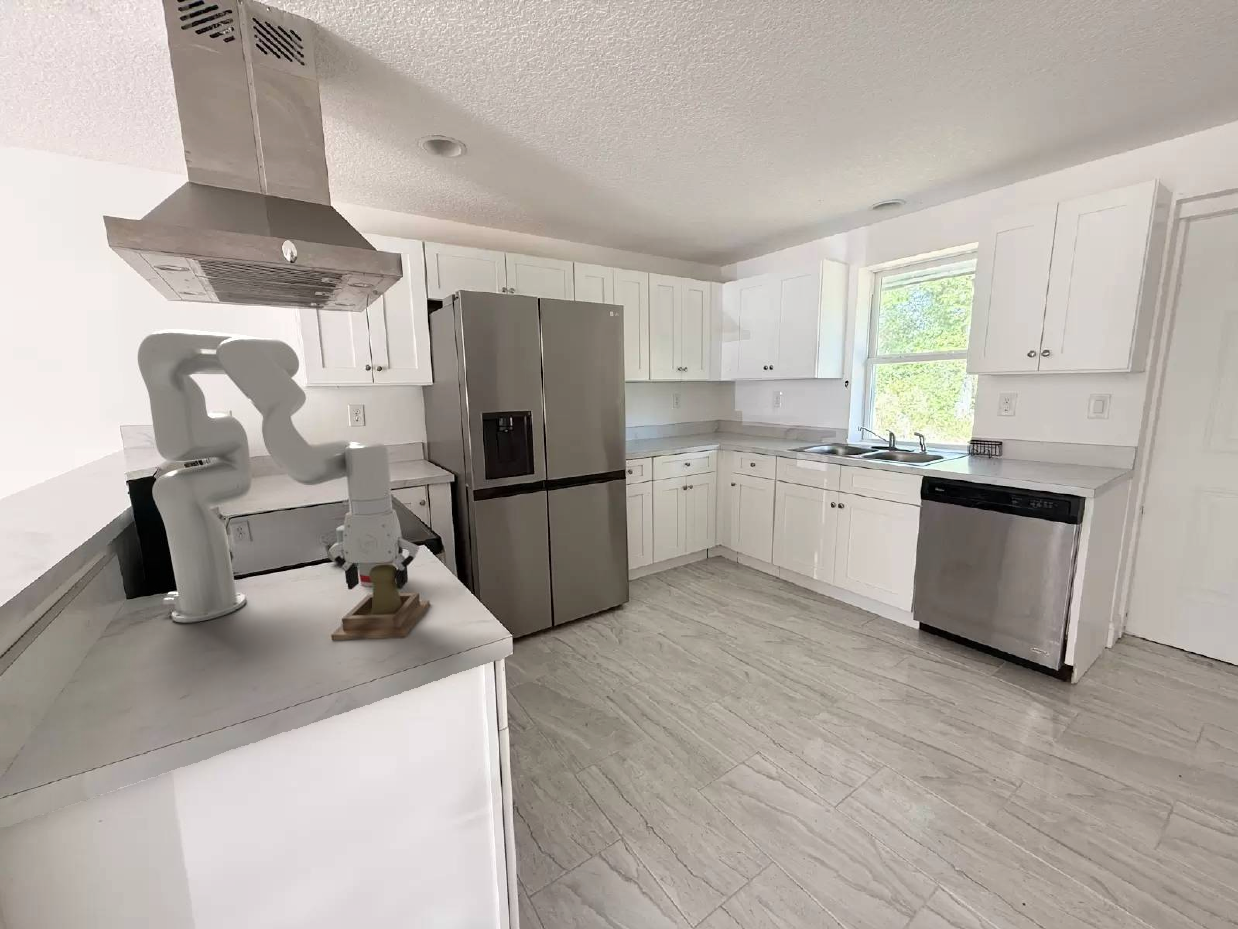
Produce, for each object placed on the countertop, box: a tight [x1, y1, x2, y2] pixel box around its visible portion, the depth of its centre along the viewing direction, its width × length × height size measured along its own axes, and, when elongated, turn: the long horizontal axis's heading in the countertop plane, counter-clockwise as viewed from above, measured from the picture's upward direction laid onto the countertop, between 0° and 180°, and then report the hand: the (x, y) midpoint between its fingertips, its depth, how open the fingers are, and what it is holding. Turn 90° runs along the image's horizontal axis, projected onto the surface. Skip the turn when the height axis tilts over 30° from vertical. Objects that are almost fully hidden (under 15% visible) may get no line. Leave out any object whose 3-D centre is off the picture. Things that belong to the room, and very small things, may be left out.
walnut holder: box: [330, 592, 431, 641], centre depth 102 cm, size 14×14×4 cm
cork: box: [369, 564, 402, 615], centre depth 101 cm, size 6×6×11 cm
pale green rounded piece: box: [327, 524, 344, 564], centre depth 136 cm, size 11×8×10 cm
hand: (377, 586), depth 101 cm, fingers open, 9 cm apart
